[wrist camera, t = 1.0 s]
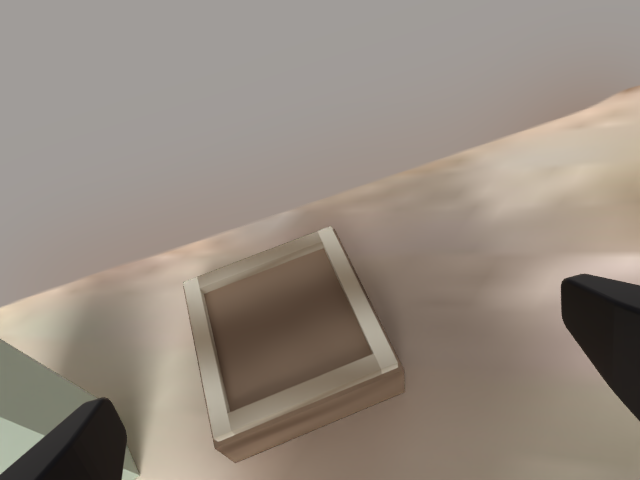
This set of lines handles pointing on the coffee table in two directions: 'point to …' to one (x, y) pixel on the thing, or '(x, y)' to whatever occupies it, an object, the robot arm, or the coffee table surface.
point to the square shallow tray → (287, 344)
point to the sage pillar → (36, 406)
